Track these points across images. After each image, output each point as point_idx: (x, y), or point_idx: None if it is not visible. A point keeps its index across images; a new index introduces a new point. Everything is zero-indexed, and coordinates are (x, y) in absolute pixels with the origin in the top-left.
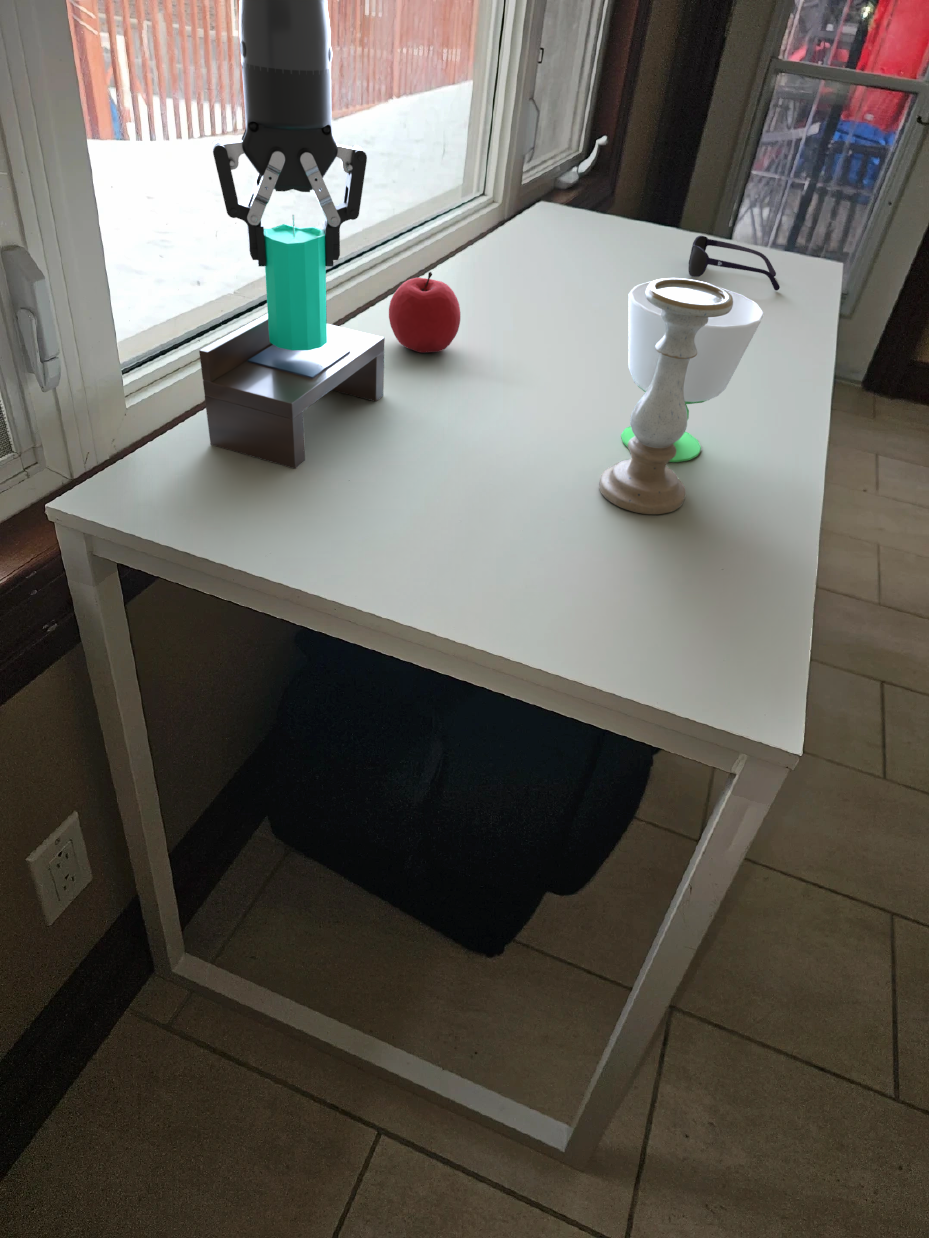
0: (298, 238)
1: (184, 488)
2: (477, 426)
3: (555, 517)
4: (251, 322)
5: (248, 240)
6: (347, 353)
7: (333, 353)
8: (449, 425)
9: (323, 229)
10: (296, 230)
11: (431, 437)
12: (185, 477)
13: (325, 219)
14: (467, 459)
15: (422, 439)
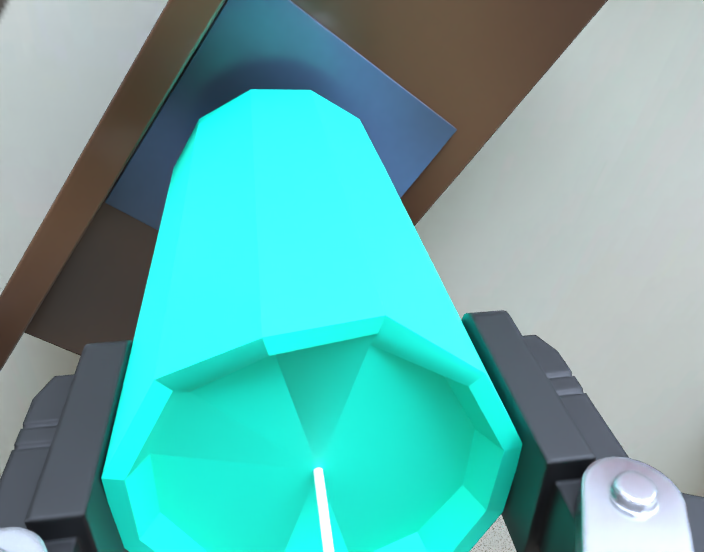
0: (343, 485)
1: (31, 375)
2: (682, 161)
3: (628, 442)
4: (94, 142)
5: (15, 445)
6: (443, 144)
7: (396, 154)
8: (623, 153)
9: (524, 452)
10: (351, 348)
11: (558, 207)
12: (22, 342)
13: (561, 523)
14: (587, 293)
15: (535, 215)
